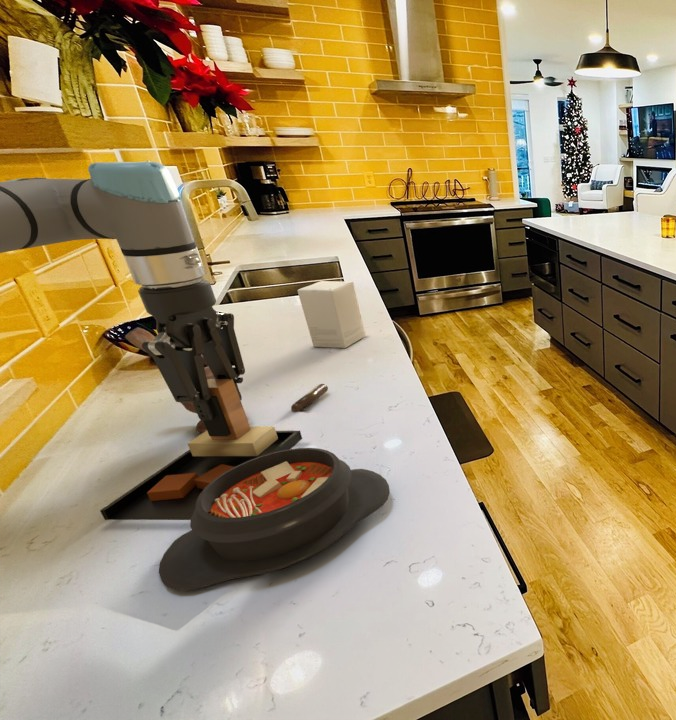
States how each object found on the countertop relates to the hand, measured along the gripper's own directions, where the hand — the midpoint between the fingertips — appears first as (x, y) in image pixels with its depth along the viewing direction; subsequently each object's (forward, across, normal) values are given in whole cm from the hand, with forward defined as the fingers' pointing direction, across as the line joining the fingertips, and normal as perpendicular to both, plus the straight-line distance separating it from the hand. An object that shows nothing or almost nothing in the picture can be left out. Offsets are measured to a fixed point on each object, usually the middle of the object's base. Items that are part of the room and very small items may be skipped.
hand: (229, 428), depth 78 cm
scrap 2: (+5, -7, -2) cm, 9 cm away
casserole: (+6, -16, -18) cm, 25 cm away
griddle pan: (+6, +5, 0) cm, 8 cm away
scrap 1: (+5, -9, +3) cm, 11 cm away
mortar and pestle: (+6, +9, +12) cm, 16 cm away
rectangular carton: (+6, +53, +13) cm, 55 cm away
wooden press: (+4, 0, 0) cm, 4 cm away
